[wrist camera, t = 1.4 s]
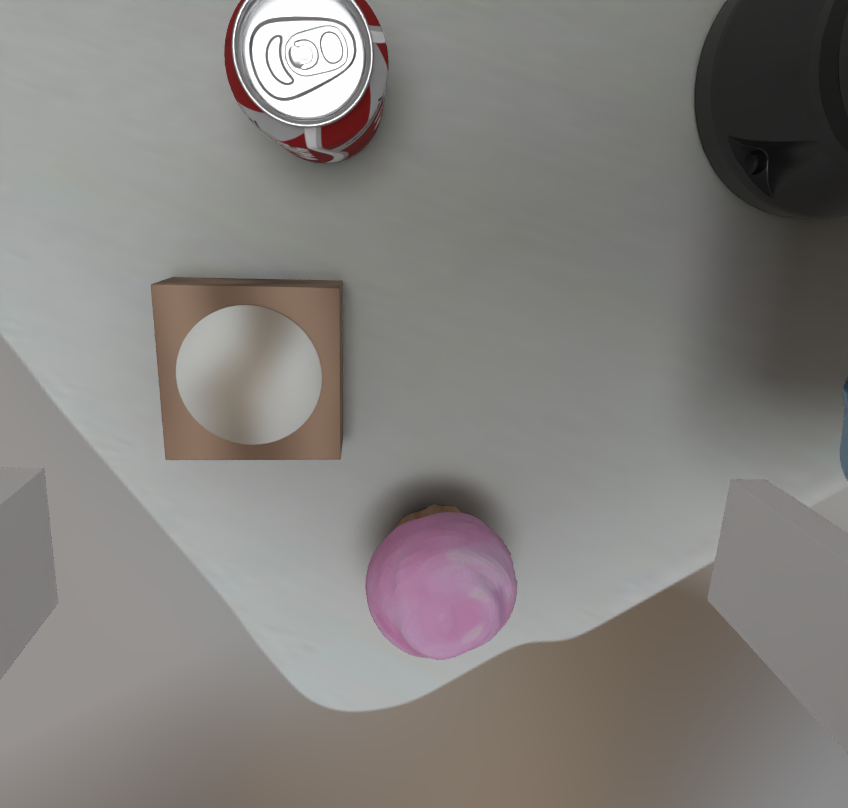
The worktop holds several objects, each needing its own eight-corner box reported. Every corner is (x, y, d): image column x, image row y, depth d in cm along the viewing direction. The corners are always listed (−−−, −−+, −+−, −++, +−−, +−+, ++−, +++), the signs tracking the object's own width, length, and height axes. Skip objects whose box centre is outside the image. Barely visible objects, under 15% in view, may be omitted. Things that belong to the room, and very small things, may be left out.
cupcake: (395, 608, 47) (402, 710, 37) (346, 504, 44) (340, 585, 35) (513, 562, 47) (551, 653, 37) (470, 455, 44) (498, 523, 35)
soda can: (245, 50, 36) (189, -24, 25) (365, 19, 37) (364, -68, 25) (282, 176, 38) (246, 162, 27) (396, 147, 38) (408, 120, 27)
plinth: (341, 280, 40) (339, 288, 36) (342, 437, 43) (340, 460, 39) (171, 277, 39) (149, 284, 35) (183, 437, 42) (164, 461, 38)
